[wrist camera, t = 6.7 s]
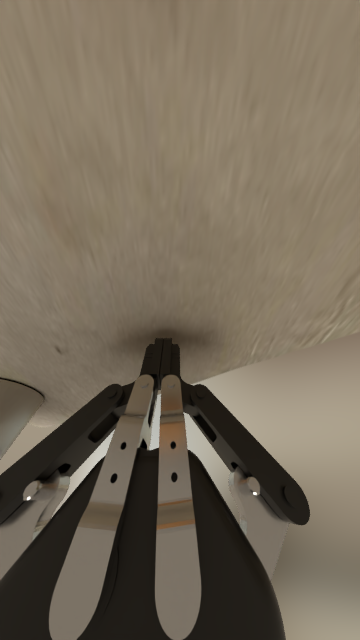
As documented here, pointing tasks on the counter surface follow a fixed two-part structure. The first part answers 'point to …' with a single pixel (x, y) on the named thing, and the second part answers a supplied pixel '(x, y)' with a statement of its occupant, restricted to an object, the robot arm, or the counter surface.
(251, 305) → the counter surface
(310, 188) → the counter surface
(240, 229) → the counter surface
